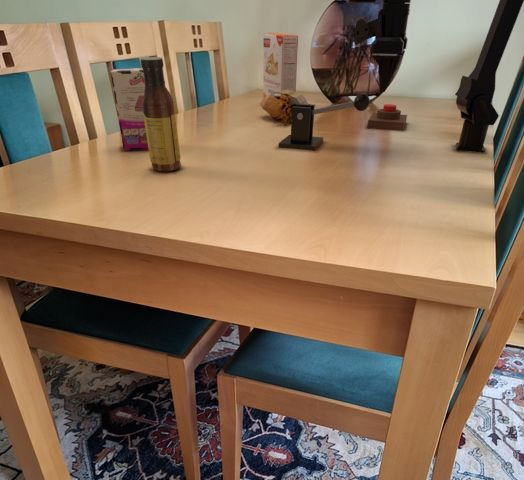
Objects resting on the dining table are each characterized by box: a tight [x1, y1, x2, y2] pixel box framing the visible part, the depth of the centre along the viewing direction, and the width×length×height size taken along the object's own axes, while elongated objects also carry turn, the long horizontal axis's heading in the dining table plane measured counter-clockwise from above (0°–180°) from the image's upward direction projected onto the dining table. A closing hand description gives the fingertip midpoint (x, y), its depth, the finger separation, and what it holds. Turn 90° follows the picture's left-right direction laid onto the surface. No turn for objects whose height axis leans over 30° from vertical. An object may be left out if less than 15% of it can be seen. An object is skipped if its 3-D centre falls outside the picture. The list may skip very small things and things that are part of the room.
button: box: [382, 103, 397, 112], centre depth 132 cm, size 4×4×2 cm
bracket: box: [278, 103, 324, 152], centre depth 112 cm, size 9×10×9 cm
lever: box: [311, 93, 371, 116], centre depth 108 cm, size 17×4×4 cm, turn 72°
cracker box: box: [262, 32, 299, 100], centre depth 153 cm, size 14×6×21 cm, turn 25°
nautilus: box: [260, 89, 309, 126], centre depth 137 cm, size 8×22×15 cm
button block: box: [366, 108, 408, 132], centre depth 134 cm, size 12×10×4 cm
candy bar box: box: [109, 67, 149, 152], centre depth 107 cm, size 11×5×16 cm, turn 105°
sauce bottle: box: [140, 56, 181, 173], centre depth 91 cm, size 7×6×20 cm
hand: (384, 89), depth 105 cm, fingers open, 9 cm apart
